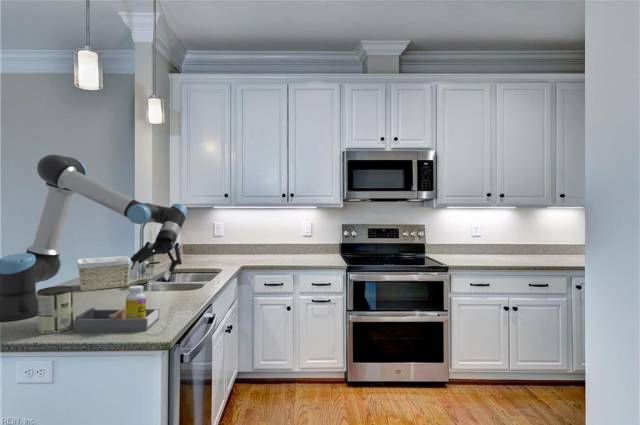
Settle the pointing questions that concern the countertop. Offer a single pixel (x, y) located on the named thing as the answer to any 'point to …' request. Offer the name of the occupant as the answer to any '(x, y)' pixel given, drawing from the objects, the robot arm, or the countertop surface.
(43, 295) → the coffee can
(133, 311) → the supplement bottle
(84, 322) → the grey shallow box
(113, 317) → the lane pusher
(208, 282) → the countertop surface
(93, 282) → the storage basket
